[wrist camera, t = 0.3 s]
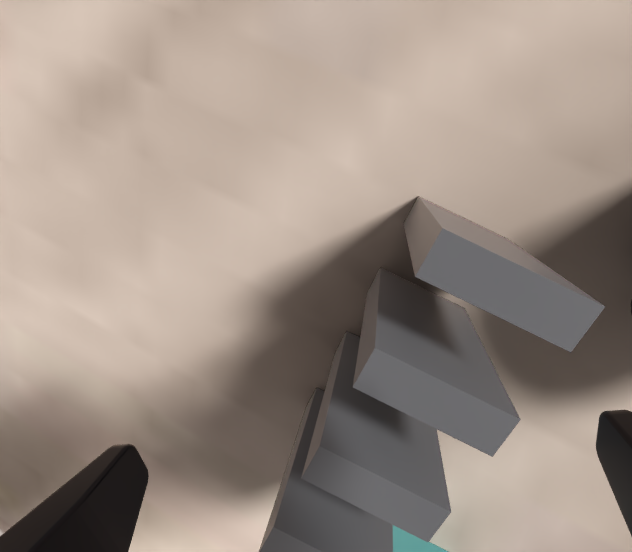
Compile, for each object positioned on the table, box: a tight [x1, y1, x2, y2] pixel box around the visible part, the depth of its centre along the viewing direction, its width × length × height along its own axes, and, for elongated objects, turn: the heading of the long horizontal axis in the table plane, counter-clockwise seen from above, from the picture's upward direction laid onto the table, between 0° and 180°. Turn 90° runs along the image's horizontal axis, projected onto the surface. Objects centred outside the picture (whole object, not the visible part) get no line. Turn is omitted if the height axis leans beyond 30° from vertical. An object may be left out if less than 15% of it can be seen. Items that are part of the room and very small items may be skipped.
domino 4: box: [301, 331, 451, 542], centre depth 19 cm, size 2×5×10 cm, turn 66°
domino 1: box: [259, 388, 393, 552], centre depth 21 cm, size 2×5×10 cm, turn 66°
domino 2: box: [403, 196, 605, 352], centre depth 17 cm, size 2×5×10 cm, turn 65°
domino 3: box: [353, 267, 520, 457], centre depth 18 cm, size 2×5×10 cm, turn 65°
